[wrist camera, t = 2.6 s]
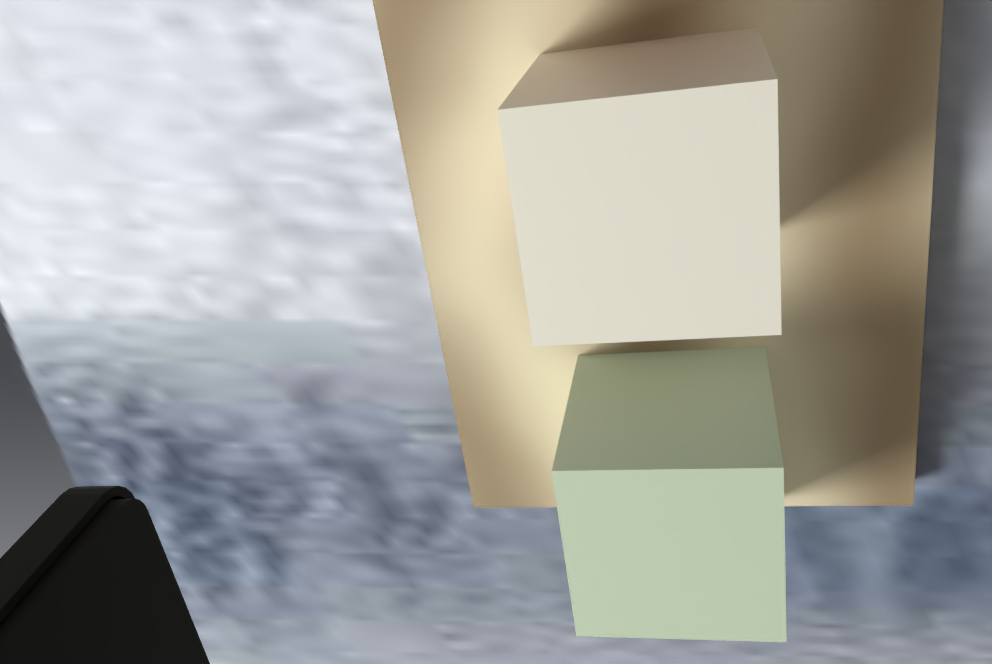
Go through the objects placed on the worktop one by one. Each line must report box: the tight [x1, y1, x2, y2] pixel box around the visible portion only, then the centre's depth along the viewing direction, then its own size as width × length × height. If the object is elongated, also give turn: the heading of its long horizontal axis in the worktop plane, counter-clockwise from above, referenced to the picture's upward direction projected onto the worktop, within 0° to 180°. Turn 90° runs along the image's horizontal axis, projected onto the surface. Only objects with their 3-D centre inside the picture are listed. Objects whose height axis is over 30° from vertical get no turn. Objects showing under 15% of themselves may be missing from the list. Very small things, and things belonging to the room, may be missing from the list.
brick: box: [552, 347, 786, 642], centre depth 26 cm, size 6×6×6 cm
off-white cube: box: [498, 27, 782, 346], centre depth 22 cm, size 6×6×6 cm
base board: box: [373, 0, 944, 507], centre depth 22 cm, size 14×24×7 cm, turn 9°
